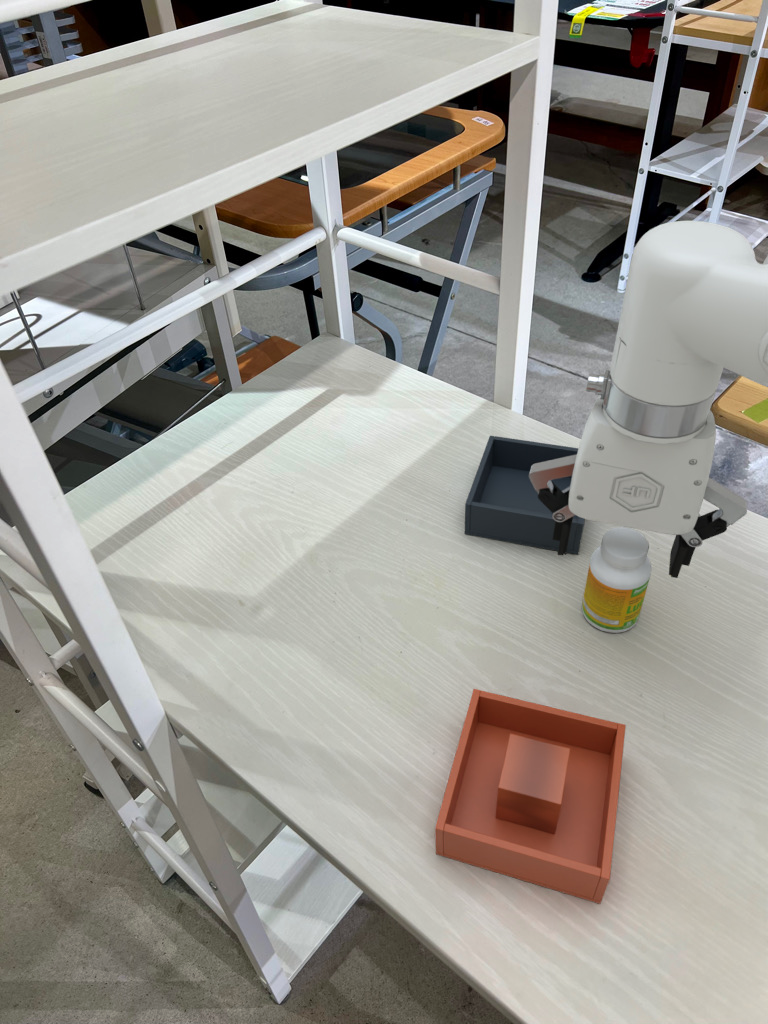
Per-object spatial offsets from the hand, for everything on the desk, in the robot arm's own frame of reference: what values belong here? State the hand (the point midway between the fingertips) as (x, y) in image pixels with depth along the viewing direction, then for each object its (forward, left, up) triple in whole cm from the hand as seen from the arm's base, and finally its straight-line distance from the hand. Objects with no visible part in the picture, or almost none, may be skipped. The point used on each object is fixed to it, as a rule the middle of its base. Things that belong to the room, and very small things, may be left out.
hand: (617, 555), depth 67 cm
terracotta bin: (+4, +21, -8) cm, 23 cm away
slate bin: (+10, -13, -8) cm, 18 cm away
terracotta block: (+4, +21, -7) cm, 23 cm away
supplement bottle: (0, 0, -8) cm, 8 cm away
